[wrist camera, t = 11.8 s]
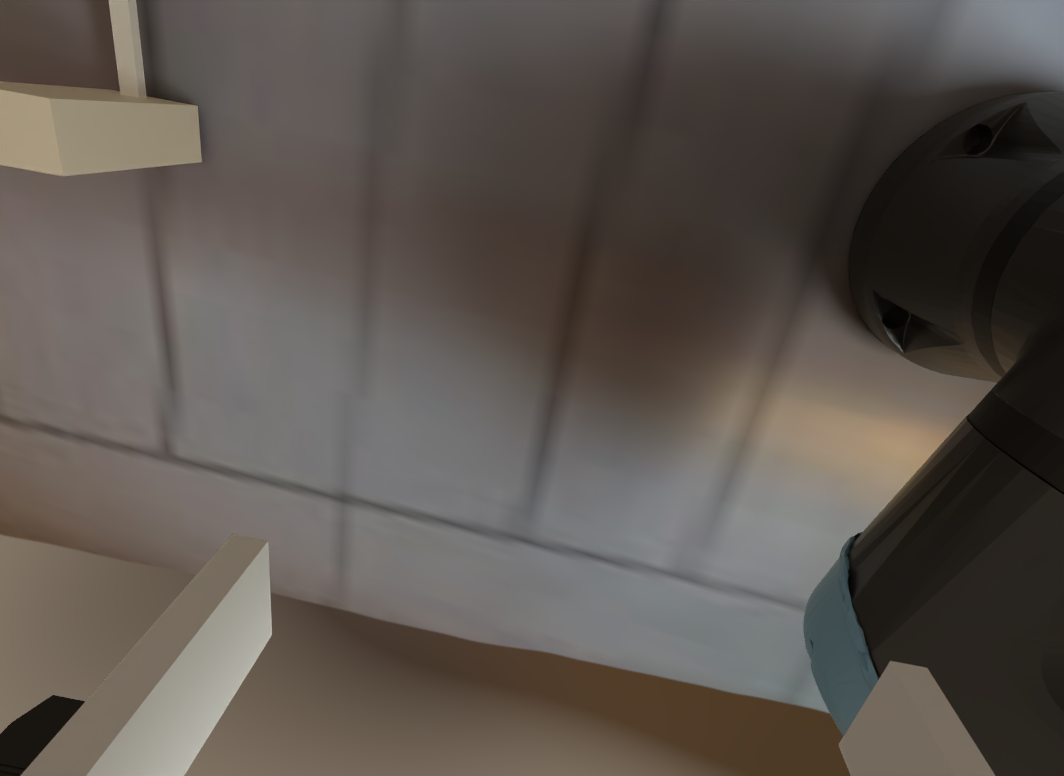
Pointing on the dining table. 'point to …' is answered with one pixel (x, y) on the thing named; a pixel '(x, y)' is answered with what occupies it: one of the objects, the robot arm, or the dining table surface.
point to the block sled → (98, 118)
